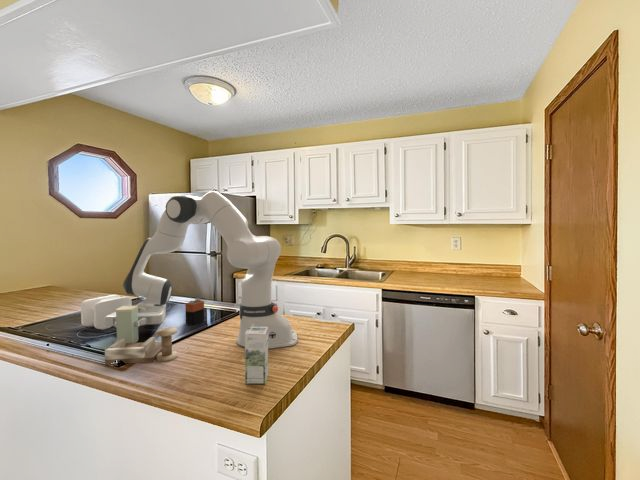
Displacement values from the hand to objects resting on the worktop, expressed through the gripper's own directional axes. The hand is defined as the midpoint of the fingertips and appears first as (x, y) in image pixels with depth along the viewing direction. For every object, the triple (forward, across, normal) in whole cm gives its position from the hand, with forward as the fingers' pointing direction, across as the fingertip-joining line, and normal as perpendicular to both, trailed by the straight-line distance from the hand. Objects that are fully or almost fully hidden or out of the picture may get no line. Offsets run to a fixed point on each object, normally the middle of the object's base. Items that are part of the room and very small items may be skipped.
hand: (126, 324), depth 110 cm
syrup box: (+31, +48, +7) cm, 58 cm away
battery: (-22, +18, +7) cm, 29 cm away
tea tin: (-1, 0, +7) cm, 7 cm away
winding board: (+10, +8, +7) cm, 14 cm away
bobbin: (+13, +18, +7) cm, 23 cm away
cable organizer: (-23, -18, +7) cm, 30 cm away
